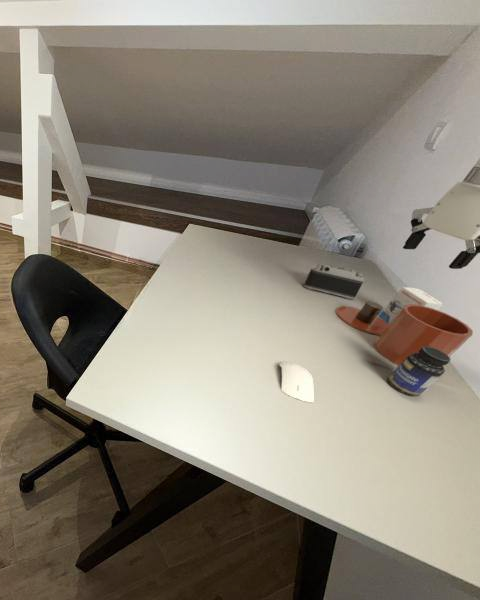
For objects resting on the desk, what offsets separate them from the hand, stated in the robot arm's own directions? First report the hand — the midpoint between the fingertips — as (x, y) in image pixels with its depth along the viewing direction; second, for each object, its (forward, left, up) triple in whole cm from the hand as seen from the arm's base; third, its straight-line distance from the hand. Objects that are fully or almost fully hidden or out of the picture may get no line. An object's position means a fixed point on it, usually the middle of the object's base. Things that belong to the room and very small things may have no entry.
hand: (430, 257), depth 71 cm
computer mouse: (+19, +26, -27) cm, 42 cm away
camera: (+4, -32, -27) cm, 42 cm away
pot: (-9, 0, -27) cm, 29 cm away
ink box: (-13, -18, -27) cm, 35 cm away
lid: (-3, -14, -26) cm, 30 cm away
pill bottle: (-5, +14, -27) cm, 31 cm away
